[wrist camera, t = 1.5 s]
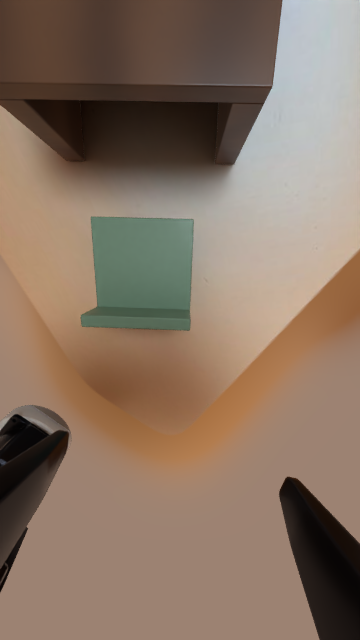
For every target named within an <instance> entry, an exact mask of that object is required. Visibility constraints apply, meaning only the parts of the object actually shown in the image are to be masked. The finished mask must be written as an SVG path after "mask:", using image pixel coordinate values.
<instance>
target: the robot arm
mask: <svg viewBox="0 0 360 640" xmlns="http://www.w3.org/2000/svg"><path fill="white" fill-rule="evenodd" d="M68 440H69V432H68V431H63V430H57V431H55V432H54V433H52V434H51V435H49V434H48V433H46V432H45V431H43V430H42V429H40V428H39V427H37V426H36V425H34V424H33V423H31V422H30V421H28V420H27V419H25V418H24V417H22V416H21V415H19V414H14V415H13V416H12V417H11V418H10V419H9V420H8V421H7V423H6V424H5V425H4V426H3V428H2V429H1V430H0V592H1V590H2V588H3V585H4V583H5V581H6V579H7V576H8V574H9V571H10V569H11V567H12V564H13V562H14V560H15V558H16V555H17V553H18V551H19V548H20V546H21V544H22V541H23V539H24V537H25V534H26V532H27V530H28V528H27V527H26V526H27V525H28V523H29V521H30V520H31V518H32V516H33V515H34V513H35V512H36V510H37V508H38V507H39V505H40V503H41V501H42V500H43V498H44V496H45V494H46V492H47V490H48V488H49V486H50V484H51V482H52V480H53V478H54V476H55V474H56V472H57V470H58V468H59V466H60V464H61V462H62V460H63V458H64V456H65V454H66V452H67V448H68ZM279 497H280V502H281V506H282V510H283V514H284V519H285V523H286V528H287V532H288V536H289V541H290V544H291V548H292V551H293V555H294V558H295V562H296V565H297V568H298V571H299V575H300V578H301V581H302V584H303V587H304V591H305V594H306V597H307V600H308V604H309V607H310V610H311V613H312V616H313V620H314V623H315V626H316V629H317V632H318V636H319V639H320V640H360V543H359V542H358V541H357V540H356V539H355V538H354V537H353V536H352V535H351V534H350V533H349V532H348V531H347V530H346V529H345V528H344V527H343V526H342V525H341V524H340V522H339V521H337V519H336V518H335V517H333V515H332V514H331V513H330V512H329V511H328V510H327V509H326V508H325V507H324V506H323V505H322V504H321V503H320V502H319V501H318V500H317V498H316V497H315V496H314V495H313V494H312V493H311V492H310V491H309V490H308V489H307V488H306V487H305V486H304V485H303V484H302V483H301V482H300V481H299V480H298V479H296V478H292V477H287V478H286V479H285V481H284V483H283V485H282V487H281V489H280V492H279Z"/></svg>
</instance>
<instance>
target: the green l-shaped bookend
mask: <svg viewBox="0 0 360 640" xmlns="http://www.w3.org/2000/svg"><path fill="white" fill-rule="evenodd" d="M193 225H194V220H193V219H161V218H124V217H91V227H92V240H93V253H94V266H95V279H96V292H97V305H98V307H96V308H94V309H92V310H90V311H88V312H86V313H84V314H82V315H81V325H82V327H105V328H133V329H160V330H187V331H189V330H190V322H191V319H190V295H191V272H192V249H193Z"/></svg>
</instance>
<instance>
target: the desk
mask: <svg viewBox="0 0 360 640" xmlns="http://www.w3.org/2000/svg"><path fill="white" fill-rule="evenodd" d="M281 8H282V0H0V105H1V106H2V107H4V108H5V109H6V110H7V111H8V112H10V113H11V114H12V115H13V116H14V117H15V118H17V119H18V120H19V121H20V122H21V123H23V124H24V125H25V126H26V127H27V128H28V129H30V130H31V131H32V132H33V133H34V134H36V135H37V136H38V137H39V138H40V139H42V140H43V141H44V142H45V143H46V144H47V145H49V146H50V147H51V148H52V149H53V150H55V151H56V152H57V153H58V154H59V155H61V156H62V157H63V158H64V159H65V160H71V161H85V157H84V144H83V132H82V119H81V106H80V100H108V101H167V102H218V117H217V133H216V149H215V164H234V163H235V161H236V159H237V157H238V155H239V153H240V151H241V149H242V147H243V145H244V143H245V141H246V139H247V137H248V135H249V133H250V131H251V129H252V127H253V125H254V123H255V121H256V119H257V117H258V115H259V113H260V111H261V109H262V106H263V104H264V102H265V100H266V98H267V96H268V94H269V92H270V90H271V88H272V85H273V77H274V68H275V59H276V51H277V42H278V34H279V25H280V16H281Z"/></svg>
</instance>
